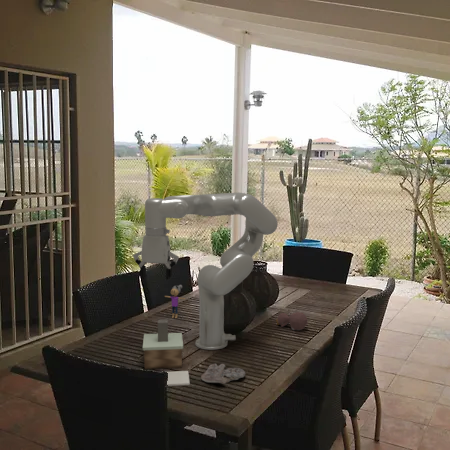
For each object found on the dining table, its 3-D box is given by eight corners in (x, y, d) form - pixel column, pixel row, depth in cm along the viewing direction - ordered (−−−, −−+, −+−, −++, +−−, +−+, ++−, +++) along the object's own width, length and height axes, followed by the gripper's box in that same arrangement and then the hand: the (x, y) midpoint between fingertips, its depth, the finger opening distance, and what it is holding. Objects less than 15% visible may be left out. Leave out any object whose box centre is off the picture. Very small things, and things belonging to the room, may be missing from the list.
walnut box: (180, 353, 199) (180, 335, 198) (181, 367, 187) (181, 348, 186) (145, 355, 198) (145, 337, 197) (144, 369, 185) (144, 349, 184)
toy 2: (277, 332, 234) (307, 335, 224) (270, 320, 230) (300, 322, 220) (285, 319, 239) (314, 321, 229) (278, 306, 235) (307, 308, 226)
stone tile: (188, 372, 182) (188, 370, 182) (189, 384, 173) (189, 383, 172) (158, 373, 181) (158, 372, 181) (158, 386, 171) (158, 384, 171)
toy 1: (163, 317, 243) (162, 285, 241) (168, 314, 249) (168, 282, 247) (183, 320, 240) (183, 287, 238) (188, 316, 245) (188, 285, 243)
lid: (181, 335, 199) (181, 314, 198) (183, 348, 185) (183, 326, 184) (144, 336, 197) (143, 315, 196) (142, 350, 184) (142, 328, 182)
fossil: (242, 370, 188) (200, 374, 187) (241, 360, 188) (199, 364, 187) (248, 385, 171) (202, 390, 170) (247, 374, 171) (201, 379, 169)
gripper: (181, 231, 196) (181, 277, 198) (136, 229, 199) (137, 274, 202) (175, 234, 189) (175, 281, 191) (129, 232, 192) (130, 278, 194)
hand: (155, 277), depth 196 cm, fingers open, 9 cm apart
